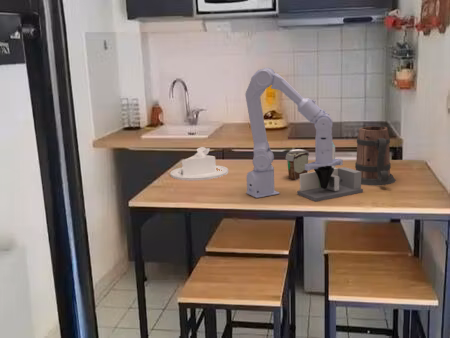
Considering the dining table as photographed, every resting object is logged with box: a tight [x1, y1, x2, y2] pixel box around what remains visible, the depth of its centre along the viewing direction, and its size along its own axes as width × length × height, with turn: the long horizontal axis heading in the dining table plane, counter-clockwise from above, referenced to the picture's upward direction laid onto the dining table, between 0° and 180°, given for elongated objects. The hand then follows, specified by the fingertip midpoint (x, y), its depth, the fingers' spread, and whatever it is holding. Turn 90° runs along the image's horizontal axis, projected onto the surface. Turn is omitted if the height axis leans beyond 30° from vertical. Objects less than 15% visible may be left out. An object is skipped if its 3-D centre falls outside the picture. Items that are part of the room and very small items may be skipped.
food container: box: [285, 150, 310, 181], centre depth 203 cm, size 12×6×10 cm, turn 141°
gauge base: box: [296, 166, 364, 202], centre depth 178 cm, size 20×11×7 cm, turn 116°
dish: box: [170, 146, 229, 182], centre depth 217 cm, size 25×25×11 cm
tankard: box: [354, 125, 397, 187], centre depth 189 cm, size 24×17×20 cm
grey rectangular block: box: [326, 174, 342, 191], centre depth 179 cm, size 6×7×5 cm
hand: (324, 187), depth 177 cm, fingers closed
